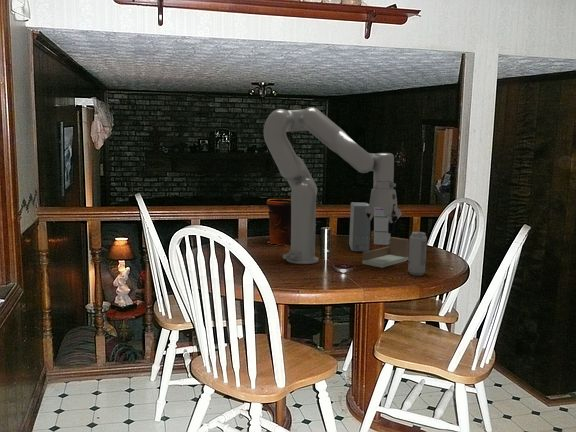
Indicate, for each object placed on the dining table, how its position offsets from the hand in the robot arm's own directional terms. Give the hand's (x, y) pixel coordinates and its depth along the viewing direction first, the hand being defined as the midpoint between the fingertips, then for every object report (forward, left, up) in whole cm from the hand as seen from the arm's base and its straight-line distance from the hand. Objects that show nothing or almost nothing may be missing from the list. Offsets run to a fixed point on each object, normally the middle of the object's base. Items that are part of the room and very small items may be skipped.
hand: (382, 231), depth 212 cm
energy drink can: (-4, -18, -13) cm, 22 cm away
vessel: (+4, +56, -13) cm, 58 cm away
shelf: (+5, +1, -13) cm, 14 cm away
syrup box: (0, 0, -5) cm, 5 cm away
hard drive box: (+20, +24, -13) cm, 34 cm away
